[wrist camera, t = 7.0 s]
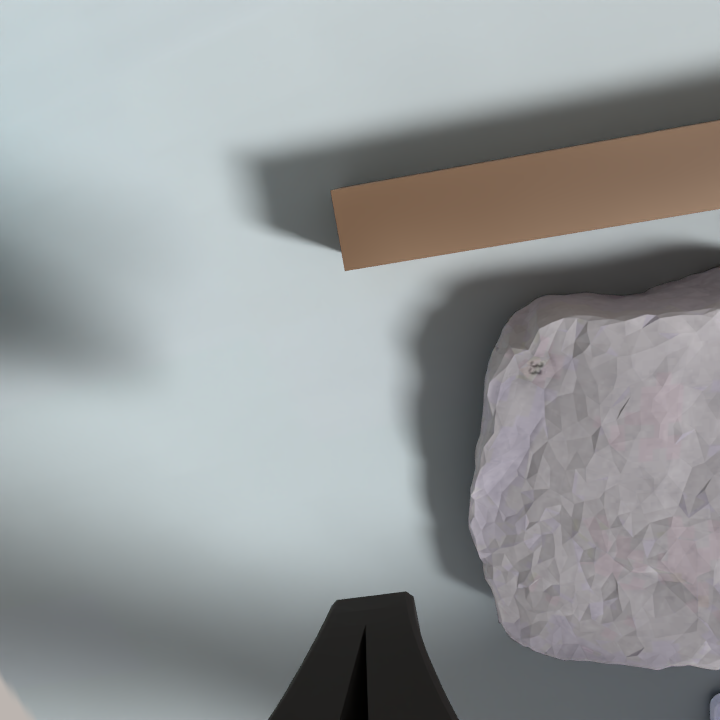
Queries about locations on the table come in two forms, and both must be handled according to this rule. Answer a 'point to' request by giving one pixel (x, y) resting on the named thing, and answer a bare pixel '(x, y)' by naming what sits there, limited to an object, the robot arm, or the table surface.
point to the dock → (530, 196)
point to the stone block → (605, 476)
